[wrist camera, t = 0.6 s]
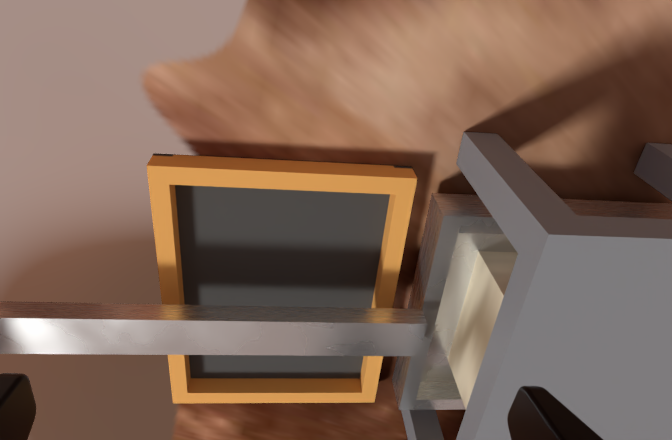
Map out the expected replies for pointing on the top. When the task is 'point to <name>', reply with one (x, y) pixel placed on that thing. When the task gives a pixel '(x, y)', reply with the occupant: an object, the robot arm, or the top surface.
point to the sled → (309, 312)
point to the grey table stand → (572, 305)
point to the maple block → (479, 317)
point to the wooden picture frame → (277, 262)
